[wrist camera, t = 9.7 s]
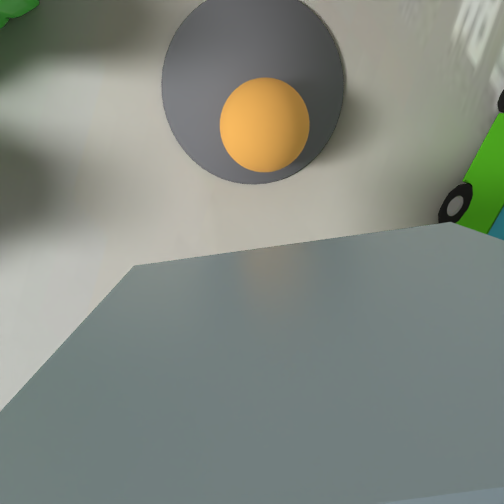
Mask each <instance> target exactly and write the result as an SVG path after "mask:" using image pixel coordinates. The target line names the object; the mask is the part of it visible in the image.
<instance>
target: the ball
mask: <svg viewBox="0 0 504 504" xmlns="http://www.w3.org/2000/svg"><path fill="white" fill-rule="evenodd" d="M309 123H310V122H309V114H308V110H307V107H306V105H305V103H304V101H303V99H302V97H301V96H300V95H299V93H298V92H297V91H296V90H295V89H294V88H293V87H291V86H290V85H289V84H287V83H285V82H283V81H281V80H278V79H274V78H256V79H252V80H249V81H247V82H245V83H243V84H242V85H240V86H239V87H238V88H236V89H235V90H234V91H233V92H232V93H231V95H230V96H229V97H228V99H227V100H226V102H225V104H224V106H223V109H222V112H221V117H220V134H221V138H222V142H223V145H224V147H225V148H226V150H227V152H228V154H229V155H230V156H231V157H232V158H233V159H234V160H235V161H236V162H237V163H238V164H240V165H241V166H243V167H244V168H246V169H249V170H252V171H255V172H273V171H277V170H279V169H282V168H284V167H286V166H288V165H289V164H290V163H292V162H293V161H294V160H295V159H296V158H297V157H298V156H299V154H300V153H301V152H302V150H303V148H304V146H305V144H306V141H307V139H308V134H309Z"/></svg>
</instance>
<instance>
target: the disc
mask: <svg viewBox="0 0 504 504" xmlns="http://www.w3.org/2000/svg"><path fill="white" fill-rule="evenodd" d="M256 78H274V79H278V80H281V81H283V82H285V83H287V84H289V85H290V86H291V87H293V88H294V89H295V90H296V91H297V92H298V93H299V95H300V96H301V97H302V99H303V101H304V103H305V105H306V107H307V110H308V114H309V122H310V123H309V134H308V139H307V141H306V144H305V146H304V148H303V150H302V152H301V153H300V154H299V156H298V157H297V158H296V159H295V160H294V161H293V162H292V163H290V164H289V165H288V166H286V167H284V168H282V169H279V170H277V171H273V172H255V171H252V170H249V169H246V168H244V167H243V166H241V165H240V164H238V163H237V162H236V161H235V160H234V159H233V158H232V157H231V156H230V155H229V154H228V152H227V150H226V148H225V147H224V145H223V142H222V138H221V134H220V117H221V112H222V109H223V106H224V104H225V102H226V100H227V99H228V97H229V96H230V95H231V93H232V92H233V91H234V90H235V89H236V88H238V87H239V86H240V85H242V84H243V83H245V82H247V81H249V80H252V79H256ZM343 90H344V89H343V72H342V65H341V61H340V57H339V54H338V51H337V48H336V46H335V43H334V41H333V39H332V37H331V35H330V34H329V32H328V30H327V28H326V27H325V26H324V24H323V23H322V22H321V20H320V19H319V18H318V17H317V16H316V15H315V14H314V13H313V12H312V11H311V10H310V9H309V8H308V7H306V6H305V5H304V4H302V3H301V2H300V1H298V0H207V1H205V2H204V3H202V4H201V5H200V6H198V7H197V8H196V9H195V10H194V11H192V12H191V14H190V15H189V16H188V17H187V18H186V19H185V20H184V21H183V23H182V24H181V26H180V27H179V28H178V30H177V31H176V33H175V35H174V37H173V39H172V41H171V43H170V45H169V48H168V51H167V54H166V57H165V61H164V66H163V72H162V99H163V105H164V110H165V114H166V117H167V120H168V123H169V125H170V128H171V130H172V132H173V134H174V136H175V138H176V139H177V141H178V143H179V144H180V145H181V147H182V148H183V150H184V151H185V152H186V153H187V154H188V155H189V156H190V157H191V159H192V160H193V161H195V162H196V163H197V164H198V165H199V166H201V167H202V168H203V169H205V170H207V171H208V172H210V173H211V174H213V175H215V176H218V177H220V178H222V179H225V180H228V181H231V182H236V183H242V184H264V183H270V182H274V181H278V180H280V179H283V178H286V177H288V176H290V175H292V174H294V173H296V172H298V171H299V170H301V169H302V168H303V167H305V166H306V165H307V164H309V163H310V162H311V161H312V160H313V159H314V158H315V157H316V156H317V155H318V154H319V152H320V151H321V150H322V149H323V148H324V146H325V145H326V143H327V142H328V140H329V139H330V137H331V135H332V133H333V131H334V129H335V127H336V124H337V121H338V118H339V115H340V111H341V106H342V100H343Z"/></svg>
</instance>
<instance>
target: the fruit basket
mask: <svg viewBox="0 0 504 504" xmlns="http://www.w3.org/2000/svg"><path fill="white" fill-rule="evenodd" d="M38 5H39V0H0V28H2V27H4V26H5V24H6V23H7V22H8V21H9V18H15V17H20V16H22V15H24V14H26V13H27V12H29V11H30V10H32V9H34V8H35V7H37V6H38Z"/></svg>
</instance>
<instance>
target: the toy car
mask: <svg viewBox="0 0 504 504" xmlns="http://www.w3.org/2000/svg"><path fill="white" fill-rule="evenodd" d="M498 109H499V111H501V112H503V113H499V114H498V116H497V118H496V119H495V121H494V123H493V125H492V127H491V128H490V130H489V132H488V134H487V136H486V138H485V140H484V141H483V143H482V145H481V147H480V149H479V151H478V153H477V154H476V156H475V158H474V160H473V162H472V164H471V166H470V168H469V169H468V171H467V173H466V175H465V177H464V179H463V182H466V183H467V184H462V185H458V186H457V187H456V188H455V189H453V190H452V191H451V192H450V193H449V194H448V196H447V197H446V199H445V201H444V203H443V204H442V206H441V208H440V211H439V213H438V216H439V224H440V223H447V222H452V223H455V224H458V225H461V226H464V227H467V228H470V229H472V230H475V231H478V232H481V233H484V234H487V235H490V236H492V237H495V238H498V239H501V240H504V90H503V91H502V93H501V95H500V97H499V100H498Z"/></svg>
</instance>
